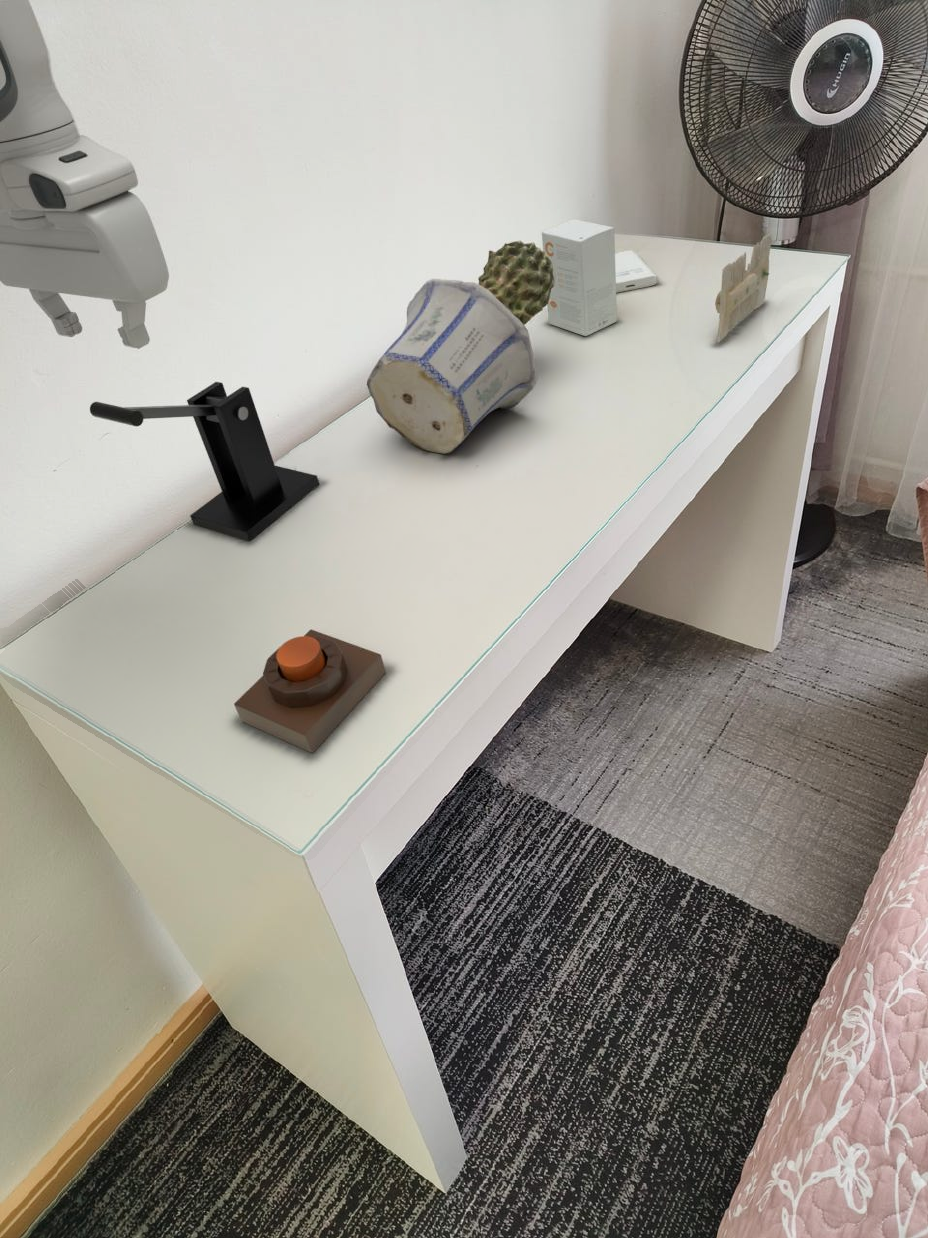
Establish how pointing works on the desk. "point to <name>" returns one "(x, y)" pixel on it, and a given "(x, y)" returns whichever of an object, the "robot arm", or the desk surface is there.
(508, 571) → the desk surface
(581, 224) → the small box
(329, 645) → the button block
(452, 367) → the potted plant
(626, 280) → the hard drive
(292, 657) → the button
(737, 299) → the wooden plank panel
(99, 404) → the lever
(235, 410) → the bracket
